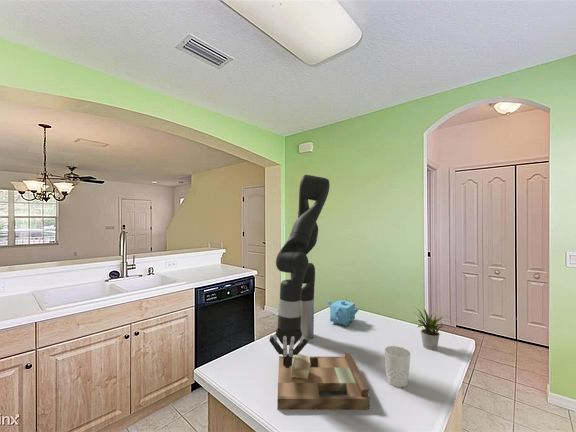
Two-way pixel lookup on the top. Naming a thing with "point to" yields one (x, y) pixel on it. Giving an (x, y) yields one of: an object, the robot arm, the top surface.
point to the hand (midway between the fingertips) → (287, 366)
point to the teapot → (342, 312)
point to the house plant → (429, 331)
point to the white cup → (397, 365)
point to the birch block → (300, 366)
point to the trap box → (323, 385)
